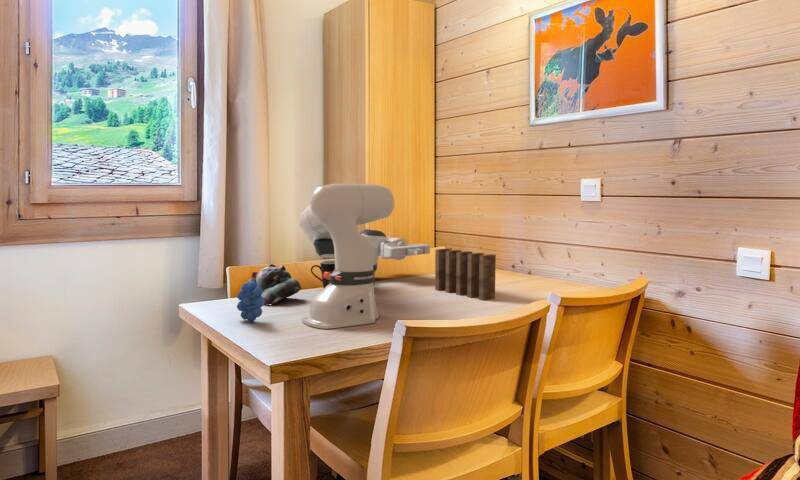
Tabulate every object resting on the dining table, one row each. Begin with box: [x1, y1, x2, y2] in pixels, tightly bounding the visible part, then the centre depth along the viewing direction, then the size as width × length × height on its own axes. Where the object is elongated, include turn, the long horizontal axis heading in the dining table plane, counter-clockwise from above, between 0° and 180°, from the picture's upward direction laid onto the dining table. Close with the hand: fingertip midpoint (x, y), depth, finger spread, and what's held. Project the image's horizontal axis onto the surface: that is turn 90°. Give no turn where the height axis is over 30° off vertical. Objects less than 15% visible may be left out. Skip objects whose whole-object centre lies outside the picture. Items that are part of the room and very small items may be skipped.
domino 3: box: [455, 250, 473, 296], centre depth 198 cm, size 6×2×15 cm, turn 128°
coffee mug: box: [310, 260, 335, 289], centre depth 209 cm, size 12×9×10 cm
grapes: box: [236, 281, 265, 323], centre depth 159 cm, size 12×7×12 cm, turn 50°
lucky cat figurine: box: [247, 263, 302, 305], centre depth 186 cm, size 15×12×14 cm
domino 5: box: [478, 253, 497, 301], centre depth 189 cm, size 6×2×15 cm, turn 128°
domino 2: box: [444, 249, 462, 294], centre depth 202 cm, size 6×2×15 cm, turn 128°
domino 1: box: [434, 247, 452, 292], centre depth 207 cm, size 6×2×15 cm, turn 128°
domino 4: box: [466, 252, 485, 299], centre depth 194 cm, size 6×2×15 cm, turn 128°
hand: (419, 252), depth 217 cm, fingers closed
